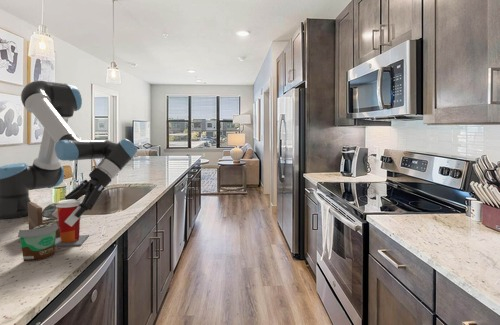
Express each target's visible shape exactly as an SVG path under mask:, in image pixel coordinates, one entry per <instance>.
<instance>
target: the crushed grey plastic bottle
mask: <svg viewBox="0 0 500 325" xmlns="http://www.w3.org/2000/svg"><path fill="white" fill-rule="evenodd" d="M57 204H58V202H54V203H50V204H48V205H47V206H45V208H44V209H42V218H46V219H50V220H58V218H56V217H55V216H53V215H52V214H53V213H54V211H55V210H56V209H57V207H56V205H57ZM81 219H82V216H81V217H80V220H81Z"/></svg>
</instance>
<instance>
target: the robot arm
mask: <svg viewBox="0 0 500 325" xmlns="http://www.w3.org/2000/svg"><path fill="white" fill-rule="evenodd" d="M82 99H83V98H82V94H81V92H80V90H79V88H78V87H77V86H75V85H73V84H67V83H60V82H52V81H45V80H34V81H32V82H29V83H27V84H26V85H25V86H24V87H23V88H22V90H21V93H20V100H21V104H22V105H23V107H24V108H25V109H26V111H28V112H29V113H31V114H33V115H34V117H35V118H36V119H37V120H38V121H39V123H40V124H41V126H42V128H44V129H43V131H42V132H43V133H42V138H41V142H40V146H39V153H38V156H37V157H36V158H34V159H33V163H32V165H28V164H27V163H25V162H18V163H11V164H10V163H9V164H5V165H2V166H0V219H1V220H2V219H16V218H23V217H26V216H27V217H28V204H27V202H32V201H31V199H30V194H29V193H30V191H33V190H42V189H51V188H55V187H58V186H60V185H61V184H62V183H63V181H64V179H65V169H64V166H63V165H62V163H61V162H60V161H63V162H64V161H65V162H66V161H68V162H69V161H70V162H73V161H80V160H81V161H82V160H97V159H102V160H101V161H99V163H97V165H96V167H95V168H94V169H93V170H91V172H90V173H89V174H88V177H89V178H90V180H87V179H84V180H83V181H82V182H81V184H79V185H78V186H76V187H75V188H74V189H73V190H71V191H70V192H69V193H67V194H66V195H65V196H64V200H69V199H76V200H79V199H81V198H82V197H83V200H82V202H80V203H81V204H79V206H78V207H77V208H76V209H75V211H74V212H73V213H72V214H71V215H70V216H69V217H68V218H67V219H66V220H65V223H67V224H68V225H70V226H71V227H72V226H73V225H74V223H75V222H76V221H77V220H78V219H79V218H80V217H81V218H82V216H83V214H84V213H85V212H87V211H88V210H89V211H91V210H92V209H93V207H94V206H95V204H96V203H97V200H98V199H99V197H100V196H101V194H102V192H103V191H104V190H105V189H106V188H107V186H108V185H109V184H111V182H112V181H113V180H112V179H114V178H116V176H118V175H119V173H120V171H122V170H123V168H125V166H126V165H127V164H128V163H129V162H130V161H131V160H132V159H133V158H134V156H135V155H136V154H137V152H138V148H137V146H136V145H135V144H134V143H133V142H132V141H131V140H129V139H127V138H122V139H121V140H120V141H118V142H115V141H112V140H110V139H107V138H104V137H96V138H94V139H80V138H79V136H78V135H77V134H76V133H75V131H74V130H73V129H72V128H71V127H70V125H69V124H68V122H69V119H70V118H73V116H74V112H77V111H79V110H81V108H82V103H83V100H82ZM52 215H53V216H55V217H56V218H58V209H56V210H55V211H54V213H53V214H52ZM58 219H59V218H58Z"/></svg>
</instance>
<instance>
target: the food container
mask: <svg viewBox="0 0 500 325" xmlns="http://www.w3.org/2000/svg"><path fill="white" fill-rule="evenodd" d="M48 221H49V223H46V224H43V225H38V226H35V227H33V228H31V229H29V228H28V229H18V233H17V237H18V238H19V240H20V246H21V252H22V259H23V262H36V261H41V260H46V259H48V258H51V257H53V256H54V255H55V251H56V247H55V240H56V238H55V235H56V230H57V229H58V225H57V223H56V221H54V220H53V219H49V220H48Z"/></svg>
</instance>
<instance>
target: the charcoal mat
mask: <svg viewBox="0 0 500 325" xmlns="http://www.w3.org/2000/svg"><path fill="white" fill-rule="evenodd" d="M88 238H90V234H85V235H84V234H81V235H80V234H79V240H77V241H75V242H70V243H63V242H61V236H59V237H58V238H55V248H65V247H67V248H68V247H80V246H82V245H83V244H84V243H85V242H86V241H87V239H88Z"/></svg>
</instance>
